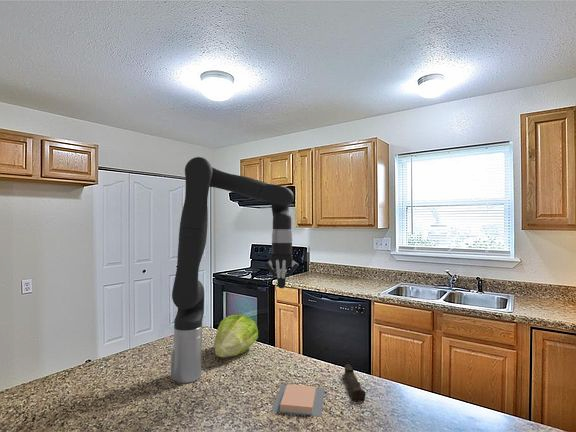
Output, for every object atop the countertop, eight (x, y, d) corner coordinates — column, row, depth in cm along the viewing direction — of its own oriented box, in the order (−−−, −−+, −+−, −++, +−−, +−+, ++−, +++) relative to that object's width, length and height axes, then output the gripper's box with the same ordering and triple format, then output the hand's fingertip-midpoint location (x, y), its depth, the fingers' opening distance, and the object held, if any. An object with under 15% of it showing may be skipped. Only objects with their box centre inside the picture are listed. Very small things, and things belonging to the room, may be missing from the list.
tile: (287, 390, 105) (280, 411, 93) (287, 384, 105) (280, 404, 93) (316, 393, 104) (312, 414, 92) (316, 386, 104) (312, 407, 92)
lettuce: (196, 364, 128) (200, 328, 126) (225, 336, 151) (229, 305, 149) (237, 376, 124) (241, 340, 122) (261, 345, 147) (264, 314, 145)
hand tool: (365, 403, 99) (365, 388, 99) (352, 403, 99) (352, 387, 99) (354, 375, 118) (354, 362, 118) (343, 375, 118) (343, 361, 118)
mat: (271, 413, 93) (271, 411, 93) (281, 386, 109) (281, 384, 109) (321, 418, 91) (321, 416, 91) (324, 390, 107) (324, 388, 107)
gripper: (262, 241, 123) (261, 289, 122) (298, 242, 120) (297, 290, 120) (266, 240, 130) (266, 285, 130) (300, 241, 128) (300, 287, 127)
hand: (281, 288), depth 125 cm, fingers closed
